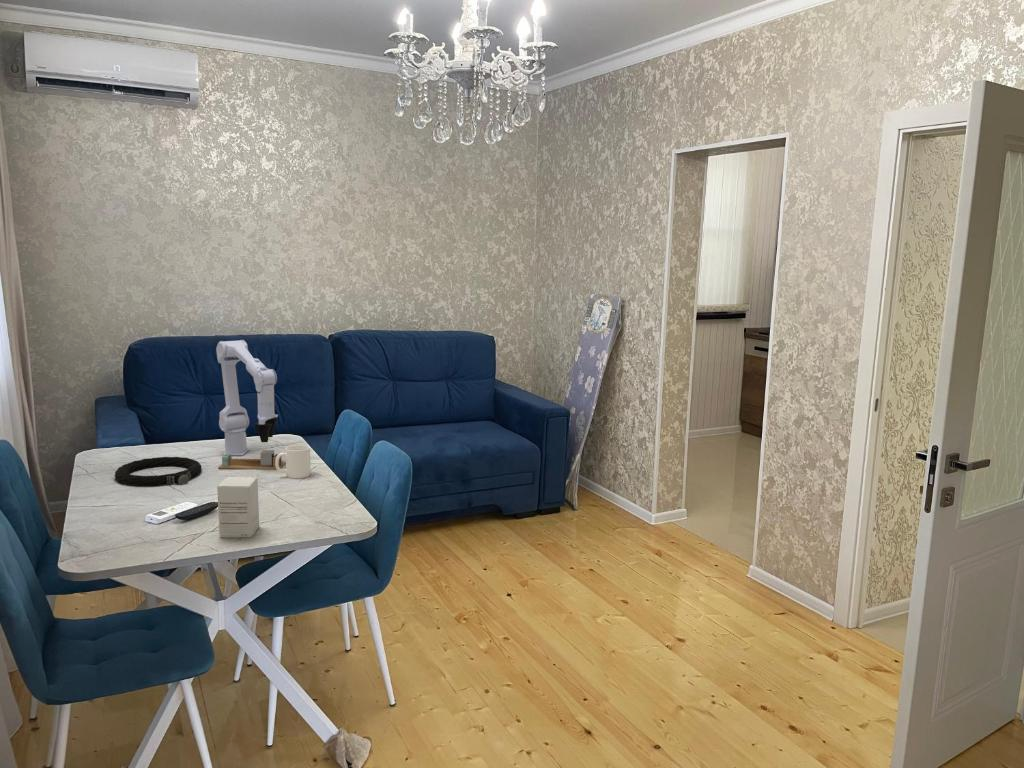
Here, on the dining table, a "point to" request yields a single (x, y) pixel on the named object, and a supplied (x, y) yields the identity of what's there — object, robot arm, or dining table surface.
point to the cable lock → (157, 480)
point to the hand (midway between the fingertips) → (267, 439)
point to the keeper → (266, 457)
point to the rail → (247, 463)
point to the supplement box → (238, 507)
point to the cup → (295, 461)
